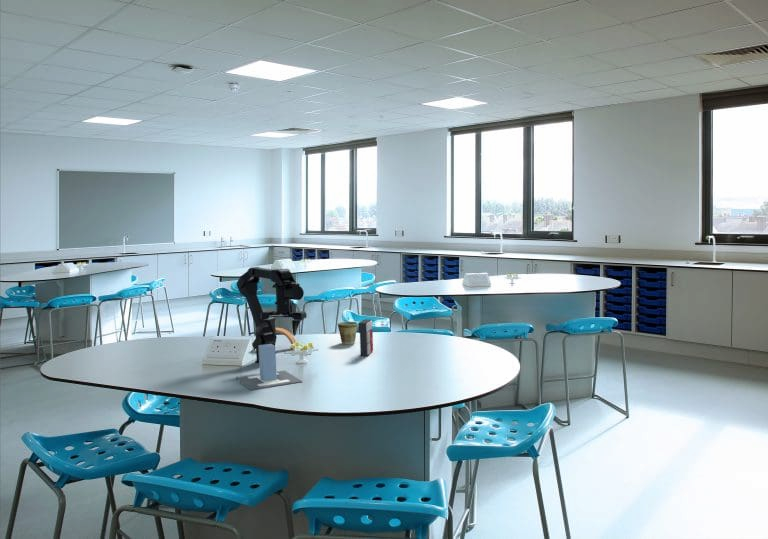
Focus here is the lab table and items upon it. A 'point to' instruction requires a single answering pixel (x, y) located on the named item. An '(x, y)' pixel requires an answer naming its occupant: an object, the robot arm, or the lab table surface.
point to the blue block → (267, 362)
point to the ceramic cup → (348, 332)
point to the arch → (286, 334)
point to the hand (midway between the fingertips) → (284, 335)
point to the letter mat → (256, 383)
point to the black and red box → (366, 337)
